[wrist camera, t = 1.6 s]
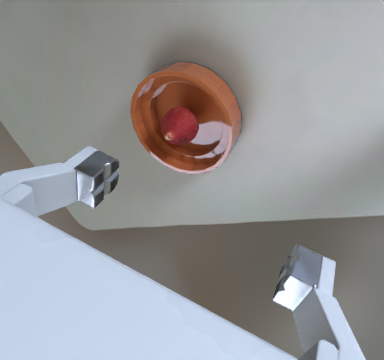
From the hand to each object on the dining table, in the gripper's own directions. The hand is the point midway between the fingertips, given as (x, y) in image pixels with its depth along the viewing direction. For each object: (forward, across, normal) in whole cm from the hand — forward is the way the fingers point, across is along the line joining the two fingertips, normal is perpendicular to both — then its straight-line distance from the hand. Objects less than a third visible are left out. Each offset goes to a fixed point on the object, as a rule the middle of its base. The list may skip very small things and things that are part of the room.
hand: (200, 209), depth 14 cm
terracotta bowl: (+35, +13, +18) cm, 42 cm away
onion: (+35, +13, +18) cm, 42 cm away
